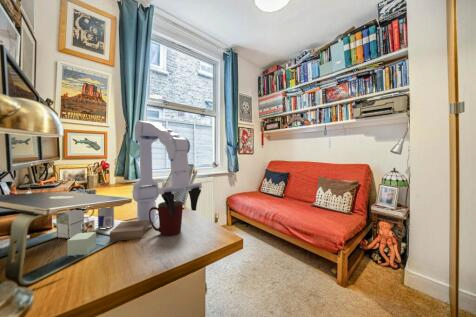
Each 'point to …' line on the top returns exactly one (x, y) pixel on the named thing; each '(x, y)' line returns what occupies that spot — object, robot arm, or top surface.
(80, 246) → the sage block
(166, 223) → the mug
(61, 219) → the syrup box
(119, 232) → the walnut base
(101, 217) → the energy drink
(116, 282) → the top surface
